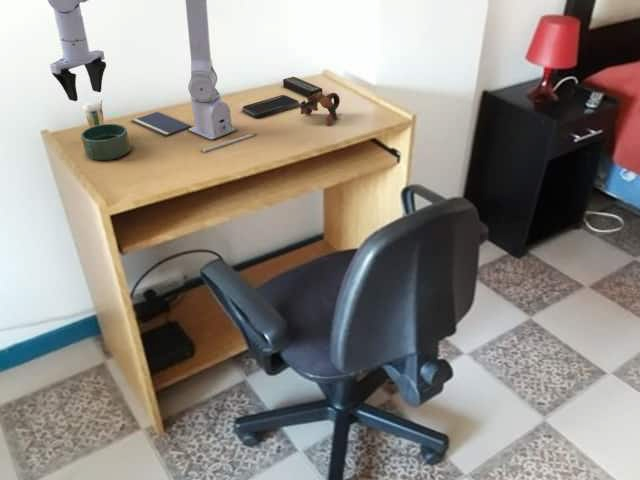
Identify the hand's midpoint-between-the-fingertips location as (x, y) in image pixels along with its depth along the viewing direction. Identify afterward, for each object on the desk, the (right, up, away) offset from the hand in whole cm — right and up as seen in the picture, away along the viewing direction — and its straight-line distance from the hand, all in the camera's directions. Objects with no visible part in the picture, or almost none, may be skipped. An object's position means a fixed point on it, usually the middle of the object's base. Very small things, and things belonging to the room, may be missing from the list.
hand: (85, 95), depth 143 cm
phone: (+43, +3, +22) cm, 48 cm away
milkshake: (+2, -10, +5) cm, 11 cm away
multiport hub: (+50, +11, +34) cm, 62 cm away
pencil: (+35, -11, +3) cm, 37 cm away
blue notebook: (+15, -4, +12) cm, 19 cm away
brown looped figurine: (+57, -2, +17) cm, 60 cm away
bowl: (+7, -14, -2) cm, 16 cm away
